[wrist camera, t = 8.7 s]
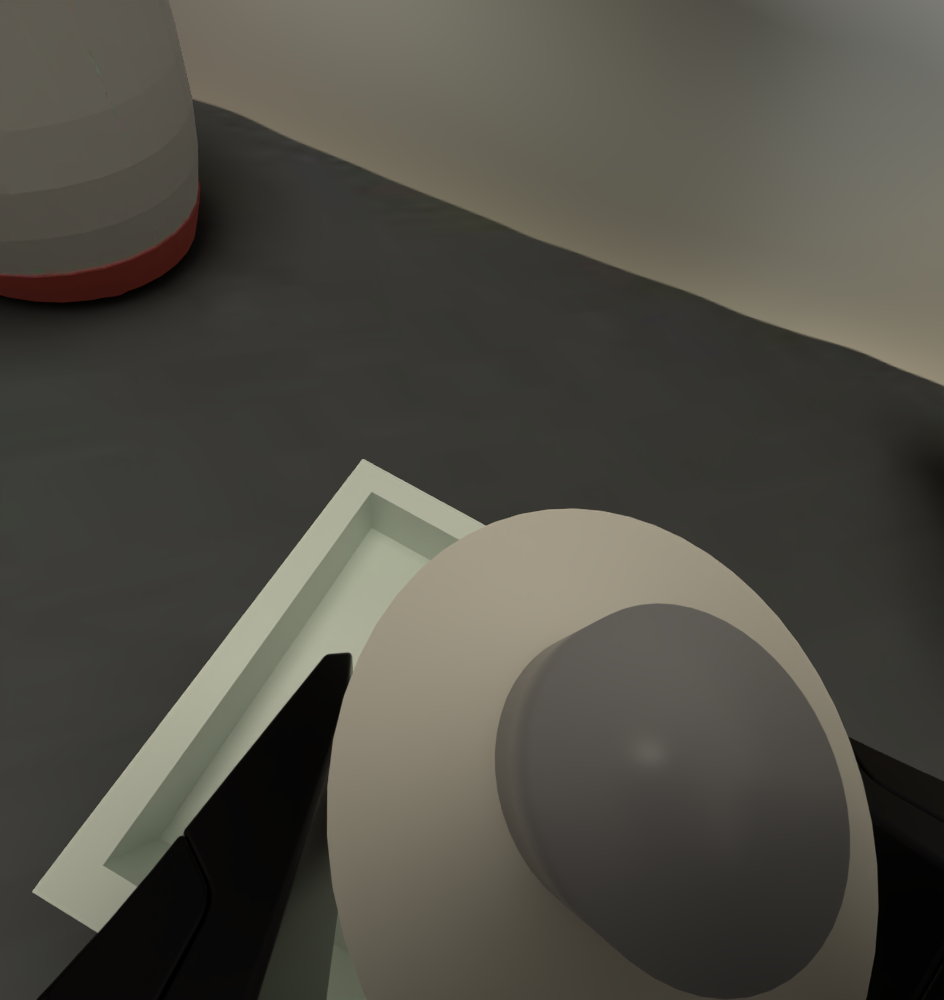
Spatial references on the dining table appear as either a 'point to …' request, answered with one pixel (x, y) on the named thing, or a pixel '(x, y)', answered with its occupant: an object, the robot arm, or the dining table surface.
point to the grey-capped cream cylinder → (595, 782)
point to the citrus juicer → (93, 148)
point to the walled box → (257, 690)
